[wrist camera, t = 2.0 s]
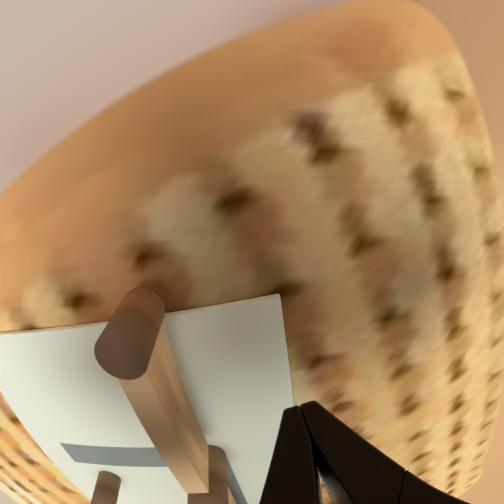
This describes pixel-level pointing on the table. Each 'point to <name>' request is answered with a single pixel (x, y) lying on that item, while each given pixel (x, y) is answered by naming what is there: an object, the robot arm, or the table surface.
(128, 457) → the card
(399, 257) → the table surface
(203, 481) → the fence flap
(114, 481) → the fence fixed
